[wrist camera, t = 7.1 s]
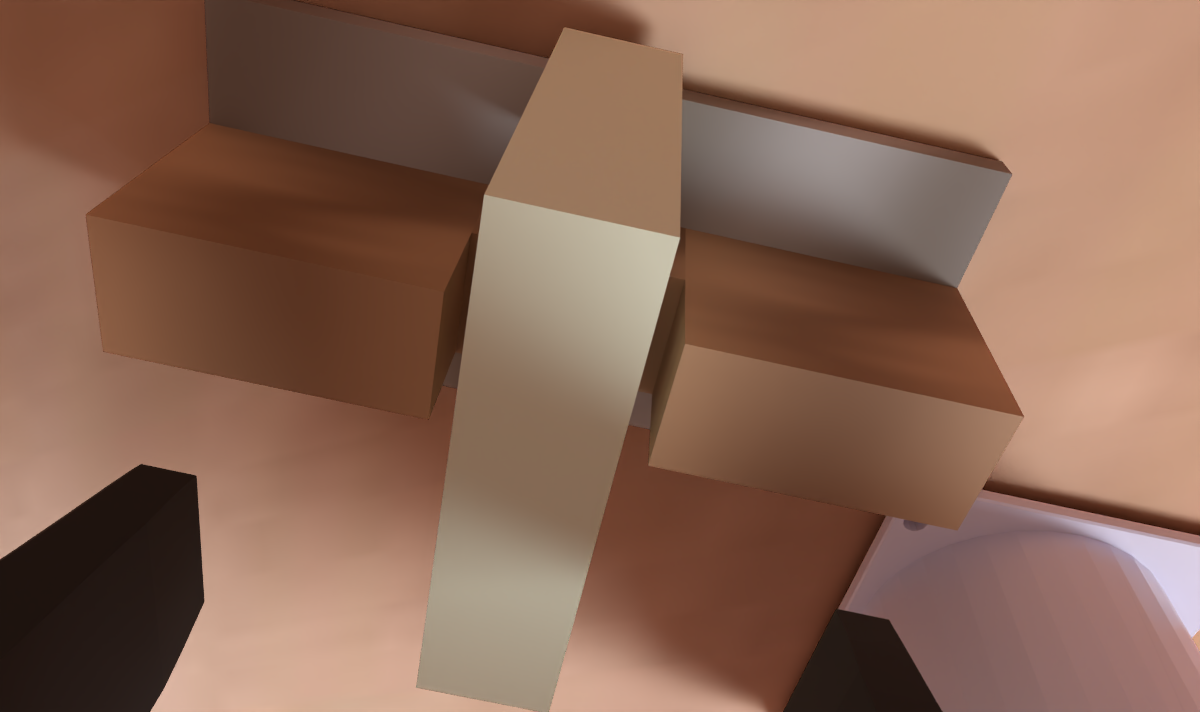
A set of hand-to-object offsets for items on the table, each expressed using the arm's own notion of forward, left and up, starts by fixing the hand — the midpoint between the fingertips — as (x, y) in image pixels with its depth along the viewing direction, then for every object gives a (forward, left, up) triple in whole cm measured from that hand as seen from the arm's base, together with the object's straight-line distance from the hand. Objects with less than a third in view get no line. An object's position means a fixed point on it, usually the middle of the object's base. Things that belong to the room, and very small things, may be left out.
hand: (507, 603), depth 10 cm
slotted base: (0, 0, -9) cm, 9 cm away
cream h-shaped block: (0, 0, -8) cm, 8 cm away
